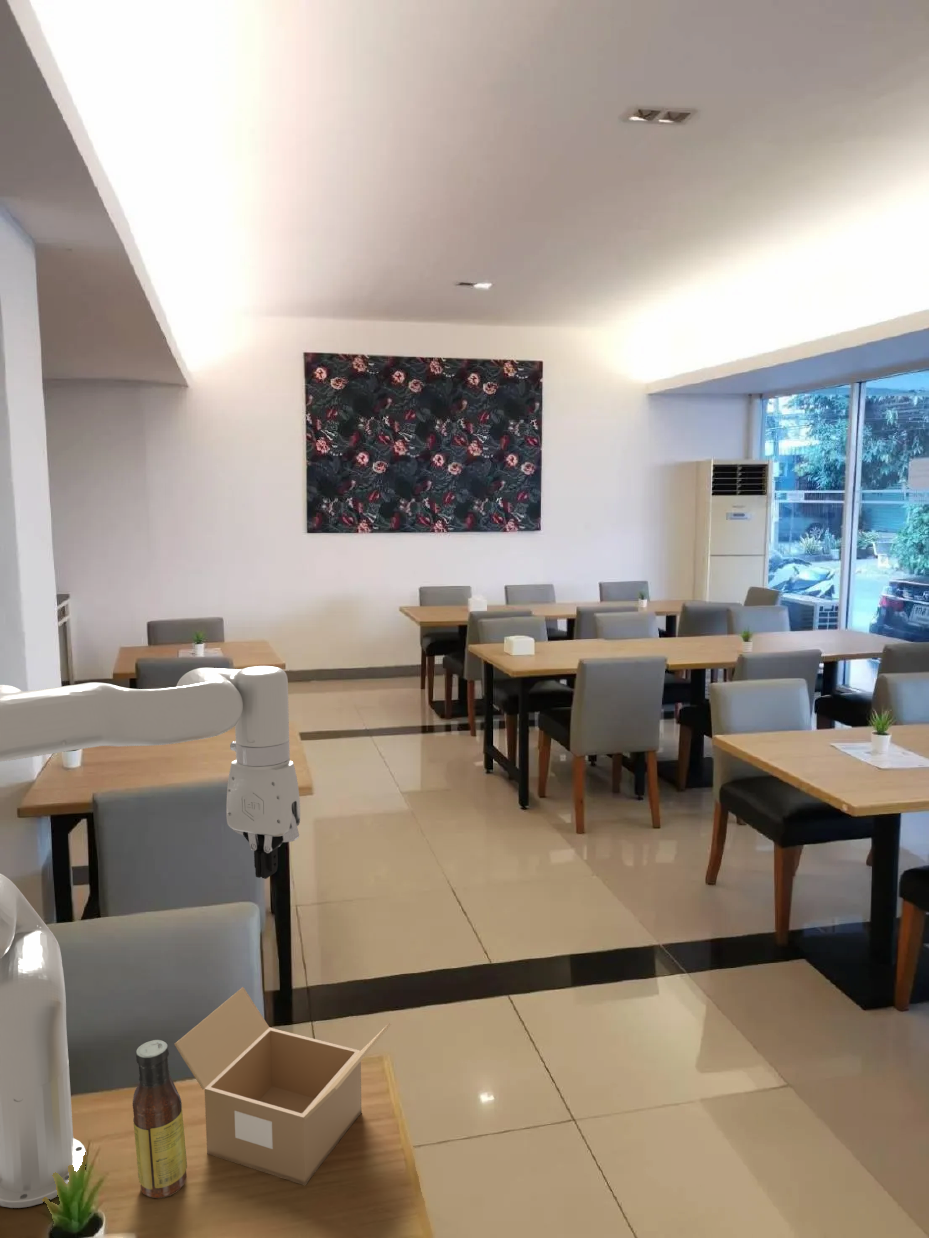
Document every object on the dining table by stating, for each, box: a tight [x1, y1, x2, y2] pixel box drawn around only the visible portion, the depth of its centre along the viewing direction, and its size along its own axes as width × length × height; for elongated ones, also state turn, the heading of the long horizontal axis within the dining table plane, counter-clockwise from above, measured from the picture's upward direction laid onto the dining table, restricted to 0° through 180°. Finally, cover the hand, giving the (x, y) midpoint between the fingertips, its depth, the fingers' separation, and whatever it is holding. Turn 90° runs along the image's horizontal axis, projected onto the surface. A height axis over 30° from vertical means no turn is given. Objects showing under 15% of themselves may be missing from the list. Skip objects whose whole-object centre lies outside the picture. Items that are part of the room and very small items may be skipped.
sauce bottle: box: [132, 1039, 188, 1199], centre depth 124 cm, size 6×6×20 cm
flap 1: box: [173, 986, 270, 1090], centre depth 137 cm, size 7×16×1 cm
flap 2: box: [304, 1022, 392, 1120], centre depth 129 cm, size 7×16×1 cm
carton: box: [204, 1026, 363, 1186], centre depth 134 cm, size 16×16×10 cm
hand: (266, 874), depth 135 cm, fingers closed
